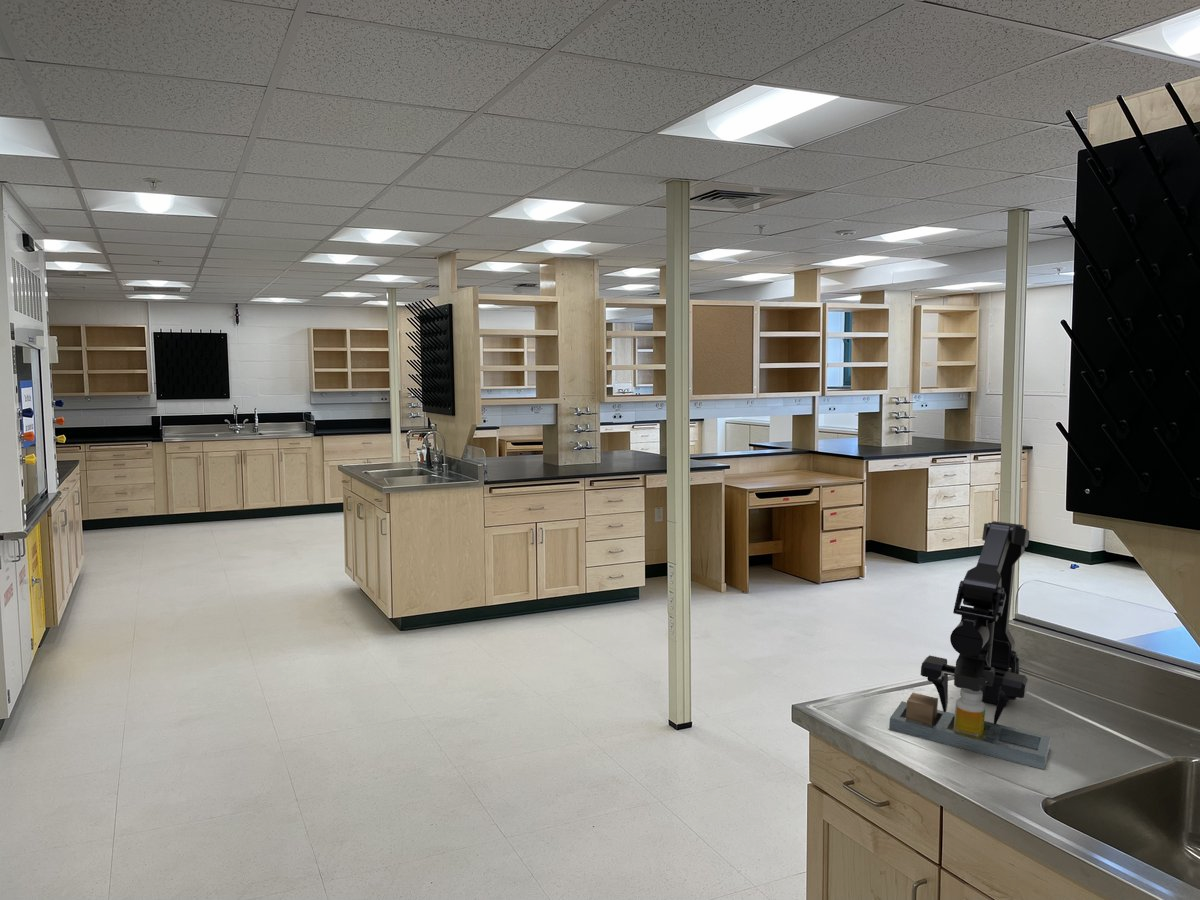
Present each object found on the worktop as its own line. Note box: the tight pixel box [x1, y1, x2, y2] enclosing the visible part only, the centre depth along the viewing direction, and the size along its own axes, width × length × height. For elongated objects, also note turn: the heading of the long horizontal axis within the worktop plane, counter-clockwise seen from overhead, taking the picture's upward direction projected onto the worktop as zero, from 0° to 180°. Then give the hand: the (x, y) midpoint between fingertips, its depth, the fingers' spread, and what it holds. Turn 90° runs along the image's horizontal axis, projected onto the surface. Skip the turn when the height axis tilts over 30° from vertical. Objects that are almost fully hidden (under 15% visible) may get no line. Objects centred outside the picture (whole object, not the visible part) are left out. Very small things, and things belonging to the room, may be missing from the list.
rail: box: [888, 700, 1052, 770], centre depth 170 cm, size 10×28×2 cm, turn 58°
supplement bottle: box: [953, 688, 986, 738], centre depth 170 cm, size 5×5×10 cm
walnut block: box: [906, 692, 939, 726], centre depth 175 cm, size 5×5×6 cm
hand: (969, 717), depth 170 cm, fingers open, 9 cm apart
